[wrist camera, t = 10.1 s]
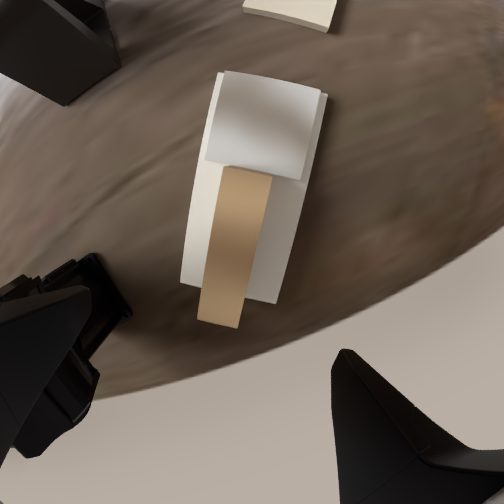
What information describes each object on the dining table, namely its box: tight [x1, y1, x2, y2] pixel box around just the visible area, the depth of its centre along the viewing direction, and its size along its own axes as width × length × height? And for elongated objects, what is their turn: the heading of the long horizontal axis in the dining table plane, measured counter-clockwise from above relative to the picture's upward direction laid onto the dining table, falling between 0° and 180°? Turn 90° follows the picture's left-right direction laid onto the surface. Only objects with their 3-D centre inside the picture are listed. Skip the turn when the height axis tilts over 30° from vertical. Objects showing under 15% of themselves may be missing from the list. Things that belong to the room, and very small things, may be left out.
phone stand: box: [0, 0, 121, 106], centre depth 9 cm, size 9×6×12 cm, turn 20°
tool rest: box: [180, 73, 328, 304], centre depth 18 cm, size 15×7×1 cm, turn 168°
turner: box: [197, 71, 321, 329], centre depth 16 cm, size 15×6×4 cm, turn 168°
